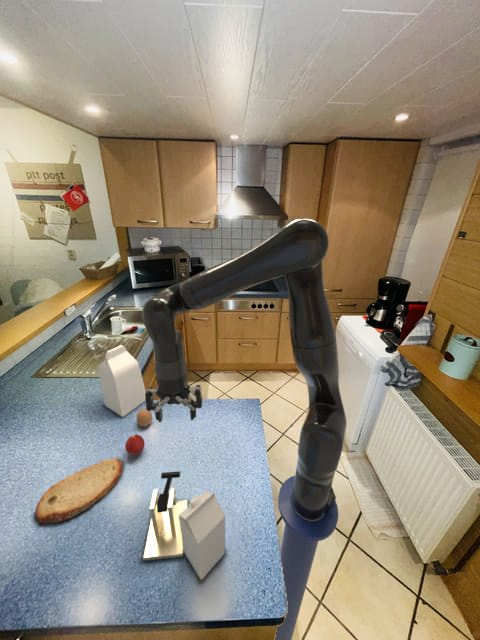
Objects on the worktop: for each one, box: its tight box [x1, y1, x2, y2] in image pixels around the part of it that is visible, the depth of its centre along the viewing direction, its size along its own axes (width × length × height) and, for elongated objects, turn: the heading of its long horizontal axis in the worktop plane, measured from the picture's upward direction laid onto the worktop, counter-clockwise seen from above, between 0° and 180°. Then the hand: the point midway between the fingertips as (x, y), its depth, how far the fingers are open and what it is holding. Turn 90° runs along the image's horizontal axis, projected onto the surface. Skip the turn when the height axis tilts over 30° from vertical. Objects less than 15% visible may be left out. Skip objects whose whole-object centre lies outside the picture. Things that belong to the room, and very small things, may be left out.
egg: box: [136, 408, 153, 427], centre depth 93 cm, size 5×5×7 cm
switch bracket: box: [142, 487, 189, 562], centre depth 61 cm, size 12×9×13 cm
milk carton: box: [179, 491, 226, 581], centre depth 56 cm, size 7×7×19 cm
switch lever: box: [157, 470, 181, 512], centre depth 64 cm, size 12×5×2 cm, turn 5°
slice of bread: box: [35, 458, 123, 524], centre depth 72 cm, size 18×18×4 cm
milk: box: [97, 344, 147, 418], centre depth 99 cm, size 12×12×26 cm
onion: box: [124, 434, 145, 456], centre depth 82 cm, size 6×6×8 cm
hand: (176, 418), depth 69 cm, fingers open, 8 cm apart
